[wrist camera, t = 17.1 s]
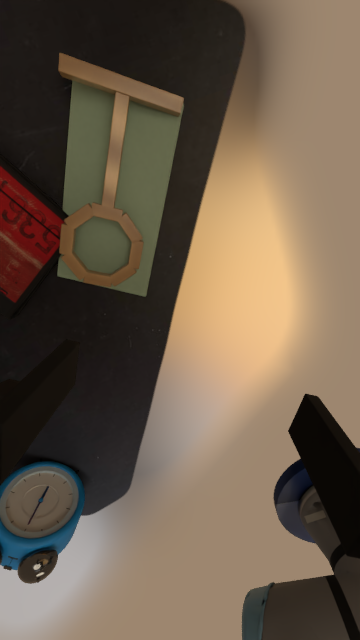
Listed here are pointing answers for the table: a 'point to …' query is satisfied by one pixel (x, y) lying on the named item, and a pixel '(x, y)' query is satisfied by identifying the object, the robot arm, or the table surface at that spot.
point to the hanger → (110, 164)
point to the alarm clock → (38, 517)
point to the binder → (25, 238)
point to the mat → (133, 185)
